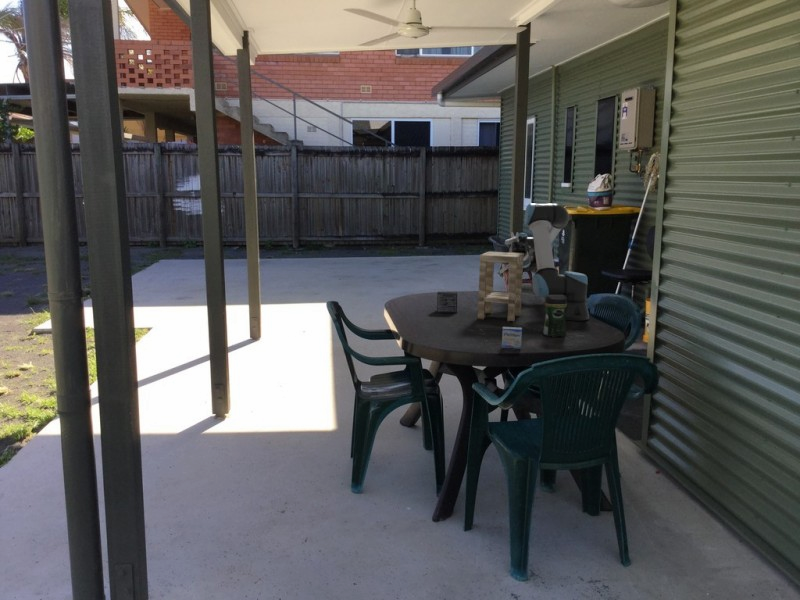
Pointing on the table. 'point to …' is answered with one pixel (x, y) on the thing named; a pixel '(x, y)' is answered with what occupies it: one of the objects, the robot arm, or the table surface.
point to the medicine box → (511, 337)
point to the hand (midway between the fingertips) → (514, 234)
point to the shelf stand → (487, 283)
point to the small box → (446, 302)
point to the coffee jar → (555, 315)
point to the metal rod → (511, 240)
